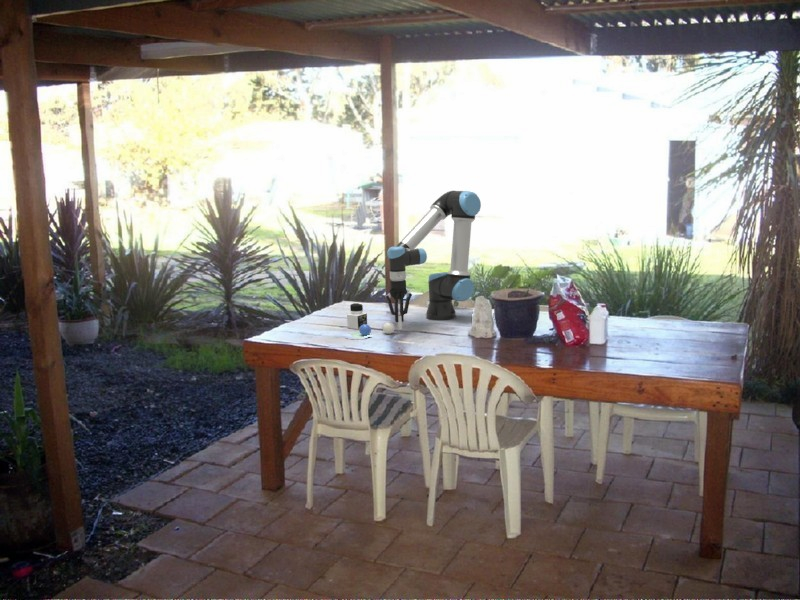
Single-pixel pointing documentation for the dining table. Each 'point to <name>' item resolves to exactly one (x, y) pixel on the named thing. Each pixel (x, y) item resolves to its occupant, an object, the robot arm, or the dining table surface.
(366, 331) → the object ball
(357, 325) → the medicine bottle
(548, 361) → the dining table surface
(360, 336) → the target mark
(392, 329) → the cue ball
